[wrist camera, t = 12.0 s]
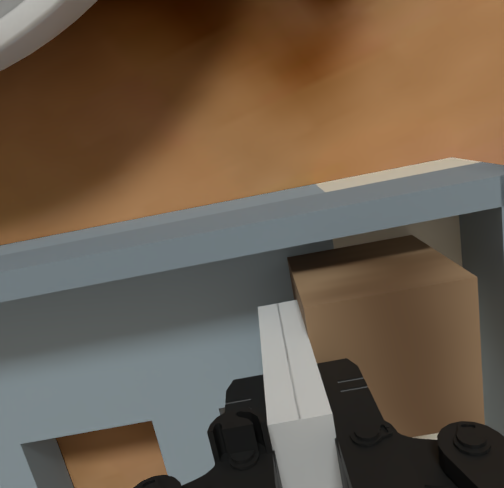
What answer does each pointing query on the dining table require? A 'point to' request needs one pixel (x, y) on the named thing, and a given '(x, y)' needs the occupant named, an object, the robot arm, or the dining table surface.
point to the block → (397, 327)
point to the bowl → (34, 25)
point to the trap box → (208, 306)
